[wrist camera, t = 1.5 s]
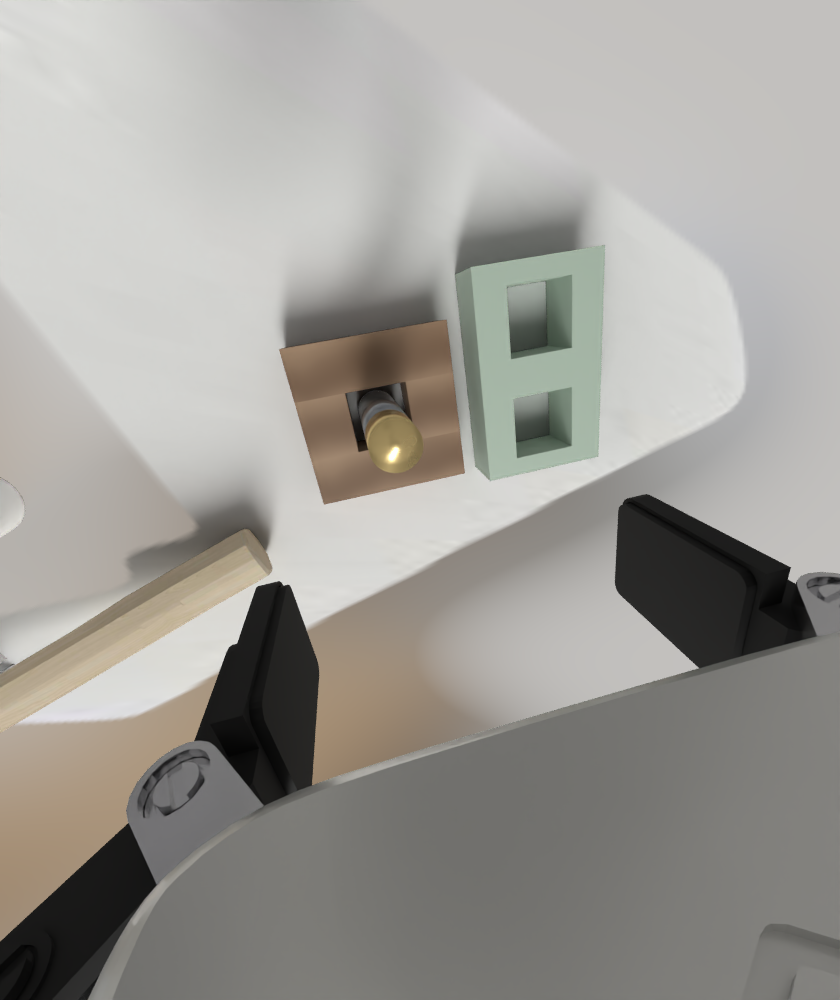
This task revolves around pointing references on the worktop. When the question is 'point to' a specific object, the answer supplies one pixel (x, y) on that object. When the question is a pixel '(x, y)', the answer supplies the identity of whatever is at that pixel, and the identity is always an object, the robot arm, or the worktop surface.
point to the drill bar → (389, 433)
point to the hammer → (131, 625)
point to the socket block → (368, 364)
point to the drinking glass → (10, 507)
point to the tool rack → (534, 360)
